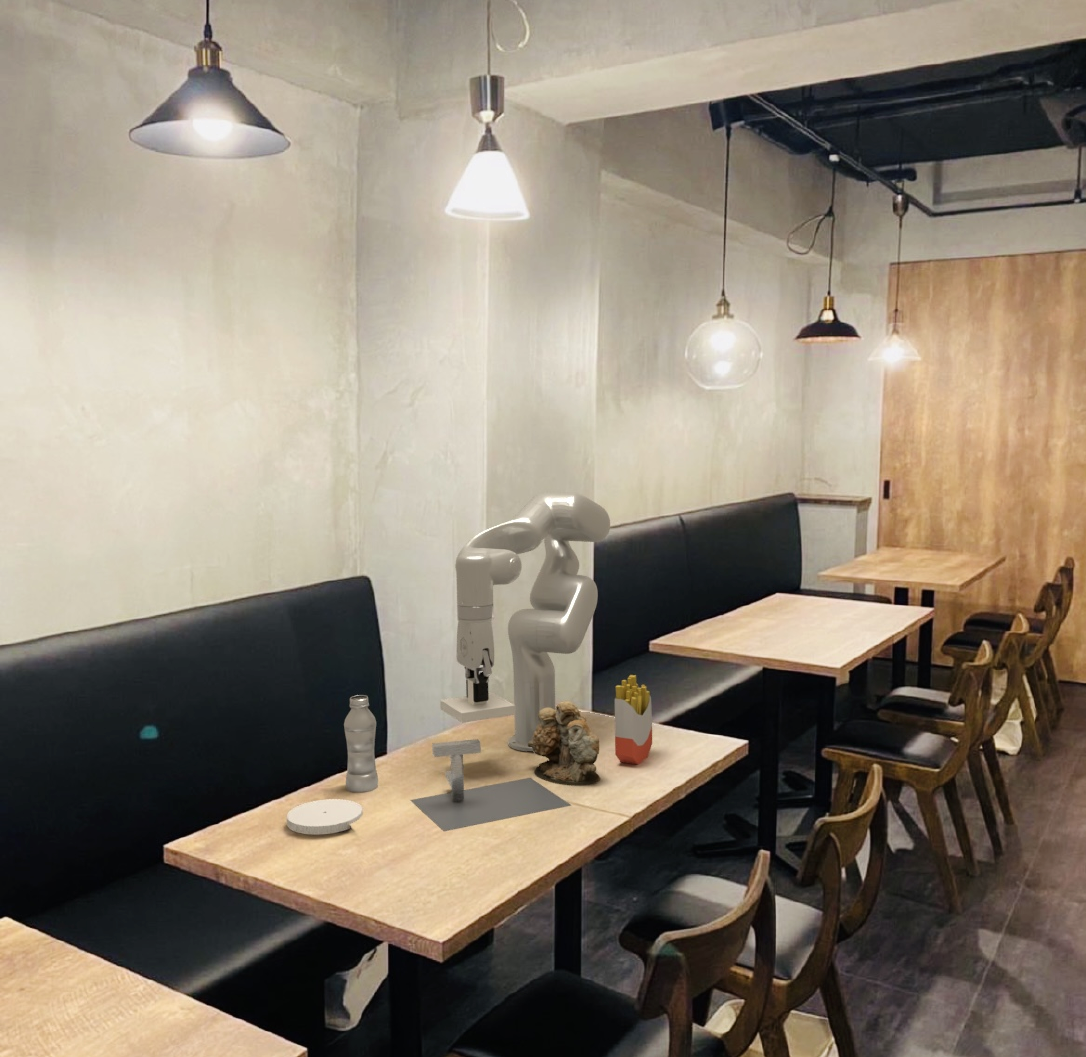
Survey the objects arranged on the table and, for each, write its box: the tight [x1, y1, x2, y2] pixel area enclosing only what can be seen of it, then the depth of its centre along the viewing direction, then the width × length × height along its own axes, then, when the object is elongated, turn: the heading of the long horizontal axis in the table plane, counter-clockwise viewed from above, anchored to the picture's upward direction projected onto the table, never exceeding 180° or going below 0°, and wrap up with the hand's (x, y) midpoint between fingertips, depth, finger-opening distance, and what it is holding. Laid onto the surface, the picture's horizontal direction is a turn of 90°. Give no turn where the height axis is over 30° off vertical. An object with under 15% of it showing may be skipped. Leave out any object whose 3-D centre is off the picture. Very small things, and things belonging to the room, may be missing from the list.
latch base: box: [410, 777, 572, 832], centre depth 204 cm, size 26×18×2 cm
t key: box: [431, 738, 482, 801], centre depth 207 cm, size 8×9×11 cm
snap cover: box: [439, 678, 516, 724], centre depth 221 cm, size 12×12×7 cm
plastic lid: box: [286, 798, 364, 835], centre depth 199 cm, size 14×14×2 cm
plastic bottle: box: [343, 694, 379, 794], centre depth 213 cm, size 6×7×20 cm
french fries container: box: [614, 674, 653, 765], centre depth 231 cm, size 5×11×18 cm, turn 152°
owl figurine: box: [528, 700, 601, 787], centre depth 218 cm, size 18×12×17 cm, turn 52°
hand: (477, 698), depth 222 cm, fingers closed on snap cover, 3 cm apart
